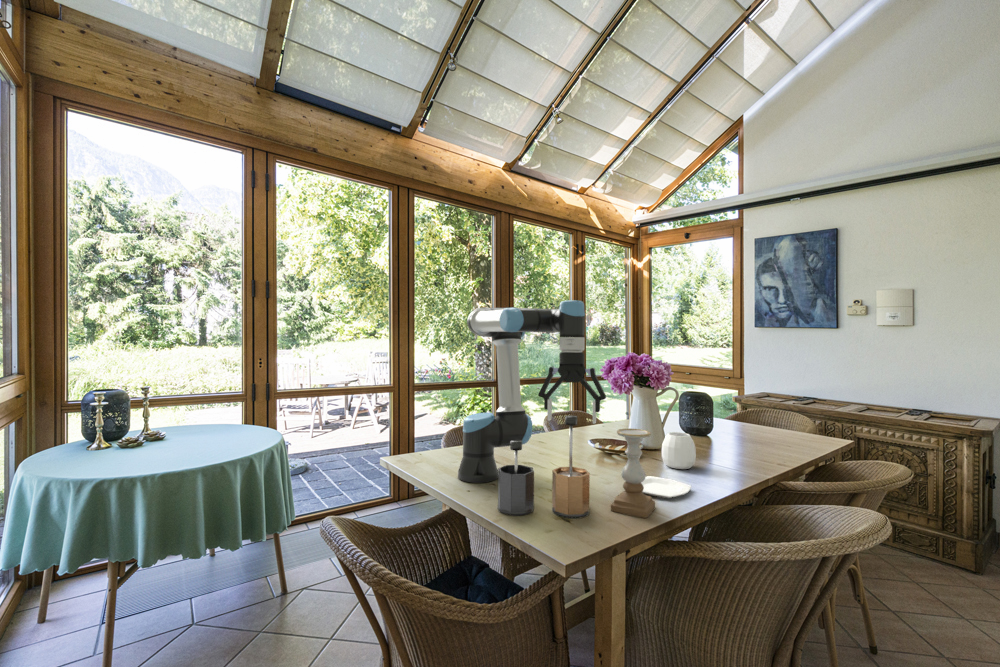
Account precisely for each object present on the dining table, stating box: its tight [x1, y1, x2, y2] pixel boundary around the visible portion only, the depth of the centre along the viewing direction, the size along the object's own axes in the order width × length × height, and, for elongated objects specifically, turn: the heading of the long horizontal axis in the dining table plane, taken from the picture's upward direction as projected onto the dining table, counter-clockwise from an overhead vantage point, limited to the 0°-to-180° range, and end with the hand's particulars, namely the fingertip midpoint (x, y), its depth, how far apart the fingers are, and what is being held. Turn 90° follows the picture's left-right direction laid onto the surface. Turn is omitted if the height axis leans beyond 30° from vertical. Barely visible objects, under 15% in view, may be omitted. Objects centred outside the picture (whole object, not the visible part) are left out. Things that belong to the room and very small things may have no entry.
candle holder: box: [610, 428, 656, 519], centre depth 143 cm, size 11×11×24 cm
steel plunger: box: [509, 440, 523, 474], centre depth 142 cm, size 8×8×19 cm
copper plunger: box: [558, 415, 583, 476], centre depth 140 cm, size 8×8×19 cm
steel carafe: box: [497, 464, 535, 517], centre depth 143 cm, size 11×14×12 cm
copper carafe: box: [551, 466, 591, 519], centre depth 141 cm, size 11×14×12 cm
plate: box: [641, 475, 692, 499], centre depth 161 cm, size 19×19×2 cm
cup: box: [661, 431, 697, 470], centre depth 190 cm, size 13×13×14 cm
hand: (571, 421), depth 140 cm, fingers open, 13 cm apart
